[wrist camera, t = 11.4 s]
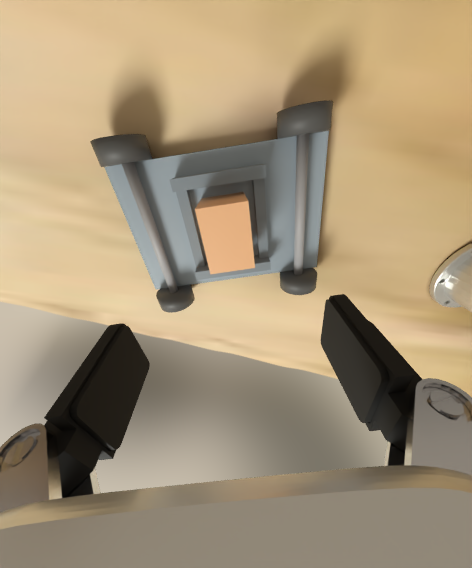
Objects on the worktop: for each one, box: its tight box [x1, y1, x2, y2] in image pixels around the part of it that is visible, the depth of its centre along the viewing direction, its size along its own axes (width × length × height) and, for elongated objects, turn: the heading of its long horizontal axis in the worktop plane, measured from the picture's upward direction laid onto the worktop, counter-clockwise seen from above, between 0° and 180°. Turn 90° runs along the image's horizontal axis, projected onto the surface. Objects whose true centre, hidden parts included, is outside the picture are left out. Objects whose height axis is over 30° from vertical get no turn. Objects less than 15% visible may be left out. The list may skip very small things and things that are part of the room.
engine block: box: [195, 192, 255, 274], centre depth 23 cm, size 5×7×6 cm
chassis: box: [91, 101, 333, 312], centre depth 25 cm, size 24×20×5 cm
